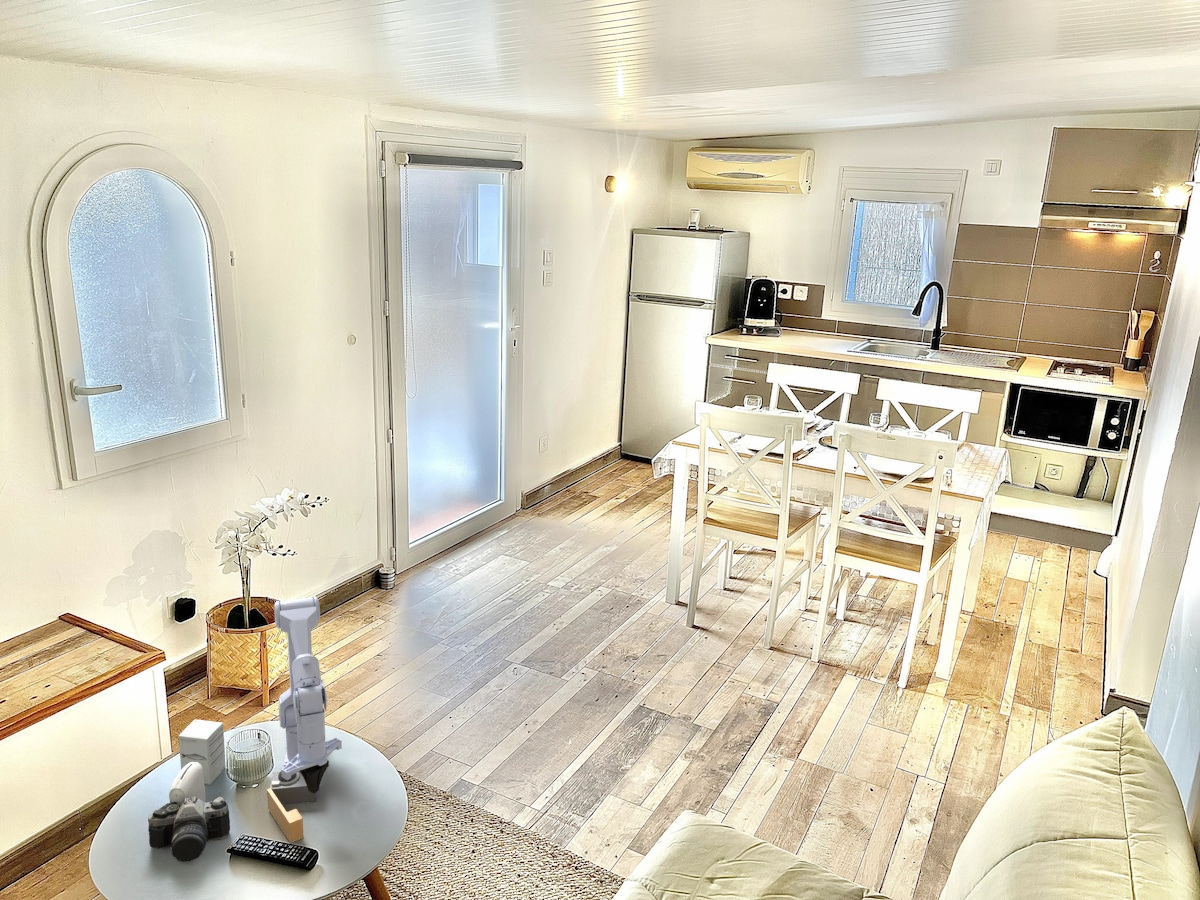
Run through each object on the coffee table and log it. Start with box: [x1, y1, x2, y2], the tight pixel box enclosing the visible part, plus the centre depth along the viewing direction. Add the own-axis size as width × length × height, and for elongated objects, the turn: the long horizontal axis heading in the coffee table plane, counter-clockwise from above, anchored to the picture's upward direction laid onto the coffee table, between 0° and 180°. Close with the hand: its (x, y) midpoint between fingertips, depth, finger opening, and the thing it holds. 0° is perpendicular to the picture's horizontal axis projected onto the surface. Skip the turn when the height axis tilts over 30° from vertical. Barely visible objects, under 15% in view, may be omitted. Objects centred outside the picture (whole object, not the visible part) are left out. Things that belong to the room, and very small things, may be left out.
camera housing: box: [269, 771, 318, 806], centre depth 204 cm, size 6×10×6 cm, turn 103°
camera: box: [147, 796, 231, 863], centre depth 185 cm, size 16×10×10 cm, turn 109°
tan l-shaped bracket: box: [266, 787, 304, 844], centre depth 195 cm, size 3×14×5 cm, turn 39°
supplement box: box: [178, 718, 226, 786], centre depth 209 cm, size 7×7×13 cm
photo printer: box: [168, 762, 207, 805], centre depth 194 cm, size 10×4×12 cm, turn 2°
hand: (313, 790), depth 194 cm, fingers closed
